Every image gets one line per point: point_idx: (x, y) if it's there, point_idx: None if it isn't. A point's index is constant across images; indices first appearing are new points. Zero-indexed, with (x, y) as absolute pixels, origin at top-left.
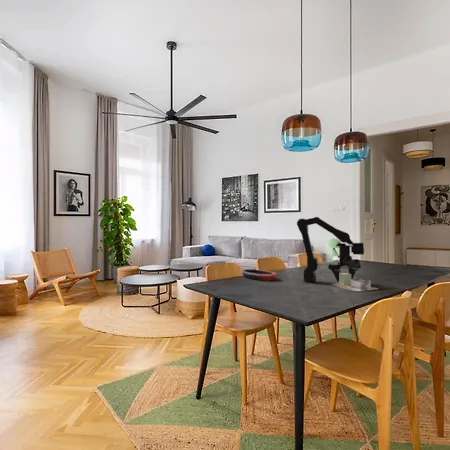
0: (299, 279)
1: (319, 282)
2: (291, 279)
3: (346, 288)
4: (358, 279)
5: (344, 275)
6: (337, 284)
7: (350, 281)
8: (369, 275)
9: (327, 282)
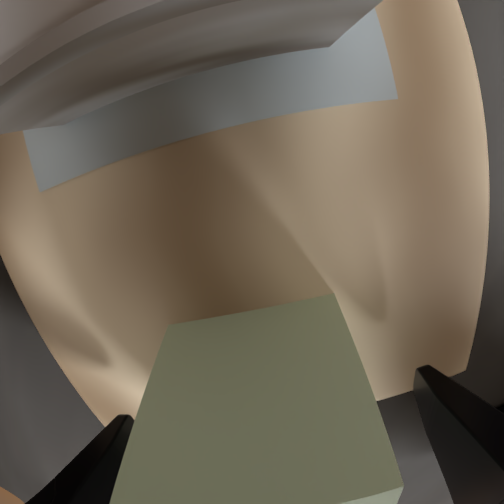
0: (441, 499)
1: (410, 468)
2: None
3: (446, 11)
4: (24, 64)
5: (385, 466)
6: (399, 353)
7: (174, 361)
8: (7, 487)
9: None
